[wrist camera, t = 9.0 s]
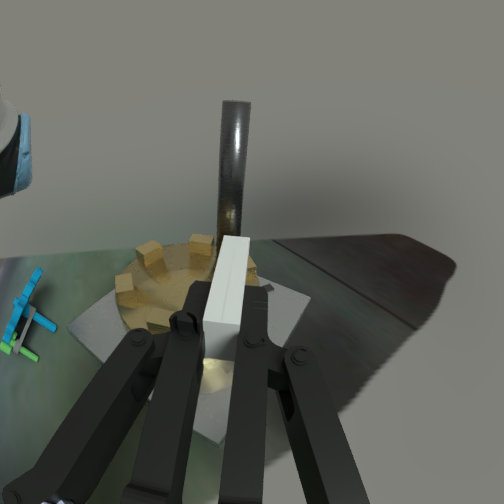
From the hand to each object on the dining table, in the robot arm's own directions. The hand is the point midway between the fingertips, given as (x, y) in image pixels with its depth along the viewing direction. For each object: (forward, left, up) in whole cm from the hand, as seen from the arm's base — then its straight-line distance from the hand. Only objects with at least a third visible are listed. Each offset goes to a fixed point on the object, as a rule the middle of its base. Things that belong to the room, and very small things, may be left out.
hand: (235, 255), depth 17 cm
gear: (-21, -10, -14) cm, 27 cm away
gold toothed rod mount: (-7, +3, -10) cm, 13 cm away
